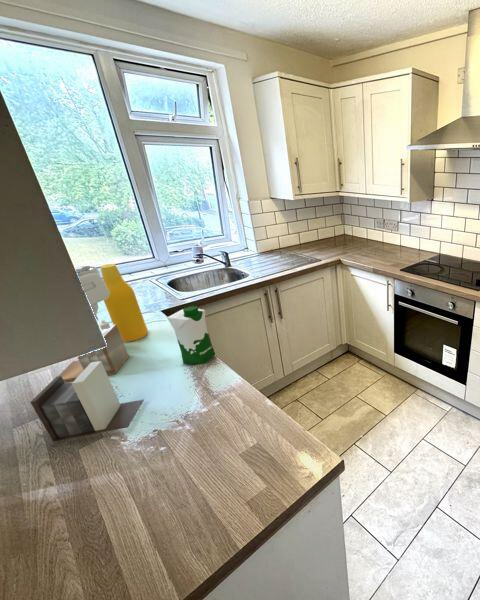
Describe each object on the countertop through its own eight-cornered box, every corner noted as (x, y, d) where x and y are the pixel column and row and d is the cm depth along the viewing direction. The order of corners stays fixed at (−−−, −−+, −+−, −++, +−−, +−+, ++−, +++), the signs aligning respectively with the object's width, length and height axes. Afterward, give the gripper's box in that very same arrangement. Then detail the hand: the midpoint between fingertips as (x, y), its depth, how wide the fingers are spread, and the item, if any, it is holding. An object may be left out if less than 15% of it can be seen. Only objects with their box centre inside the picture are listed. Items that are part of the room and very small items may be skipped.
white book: (95, 430, 83) (71, 383, 77) (111, 407, 91) (91, 362, 85) (105, 428, 84) (82, 381, 78) (120, 405, 92) (101, 360, 86)
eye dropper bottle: (104, 354, 116) (91, 325, 112) (110, 346, 121) (98, 317, 116) (119, 352, 118) (107, 322, 113) (124, 344, 123) (113, 315, 118)
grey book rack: (52, 444, 81) (28, 403, 75) (77, 413, 90) (57, 375, 85) (129, 430, 85) (111, 390, 80) (145, 402, 95) (130, 364, 89)
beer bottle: (146, 339, 126) (120, 267, 114) (116, 344, 123) (86, 271, 111) (150, 328, 134) (127, 260, 122) (122, 333, 130) (95, 263, 118)
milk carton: (201, 368, 110) (185, 314, 101) (178, 364, 111) (161, 312, 103) (219, 353, 117) (206, 303, 109) (197, 350, 119) (183, 301, 111)
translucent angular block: (54, 383, 102) (35, 347, 97) (74, 363, 111) (58, 330, 106) (115, 374, 106) (101, 339, 101) (129, 355, 116) (117, 323, 111)
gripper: (83, 262, 83) (103, 311, 89) (-22, 293, 65) (12, 352, 70) (105, 263, 82) (124, 312, 88) (5, 295, 64) (36, 354, 70)
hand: (73, 330), depth 79 cm, fingers open, 8 cm apart
